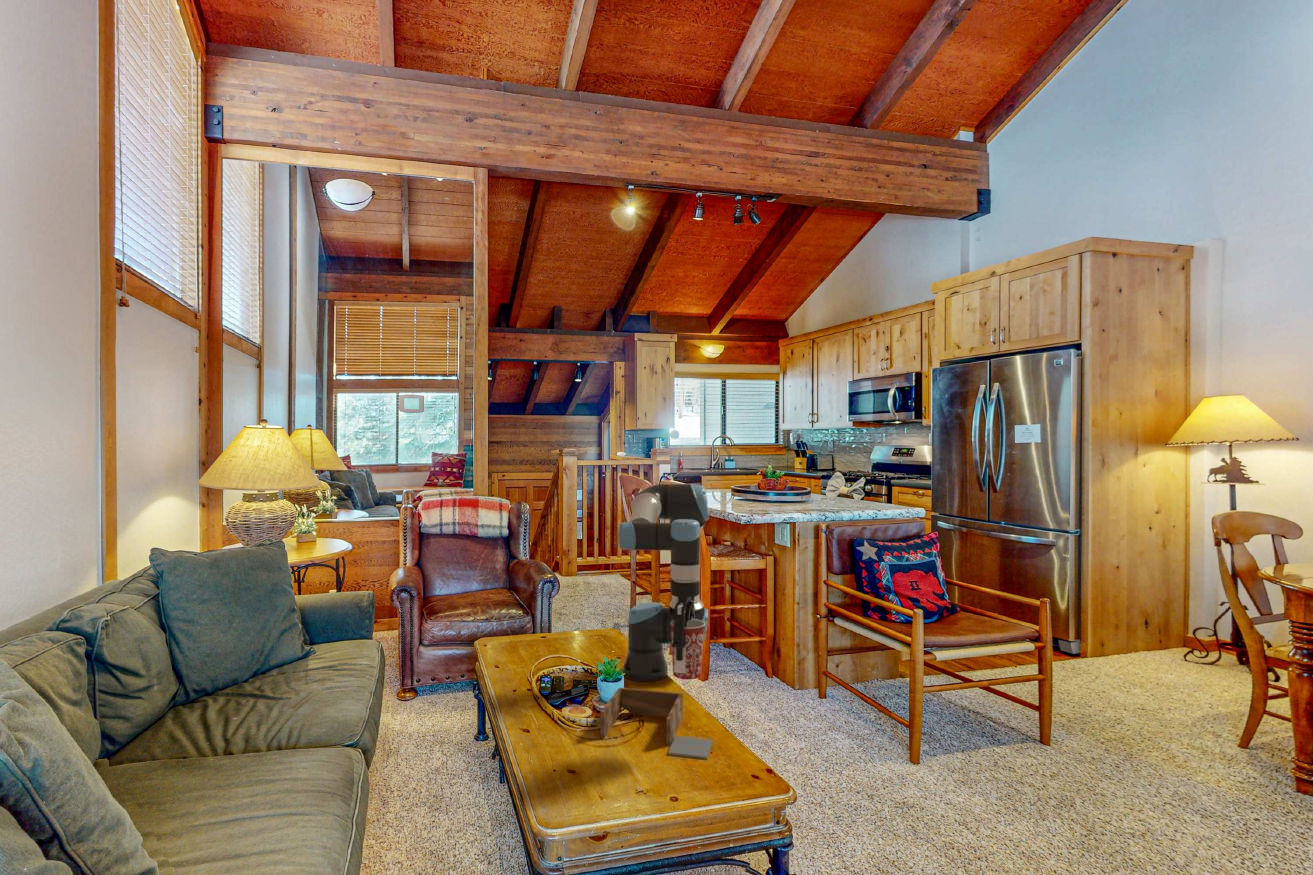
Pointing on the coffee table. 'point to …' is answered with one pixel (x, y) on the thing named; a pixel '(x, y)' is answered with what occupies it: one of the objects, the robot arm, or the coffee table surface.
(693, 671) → the mug
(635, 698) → the wooden u-shaped barrier
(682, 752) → the pad
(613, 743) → the coffee table surface
